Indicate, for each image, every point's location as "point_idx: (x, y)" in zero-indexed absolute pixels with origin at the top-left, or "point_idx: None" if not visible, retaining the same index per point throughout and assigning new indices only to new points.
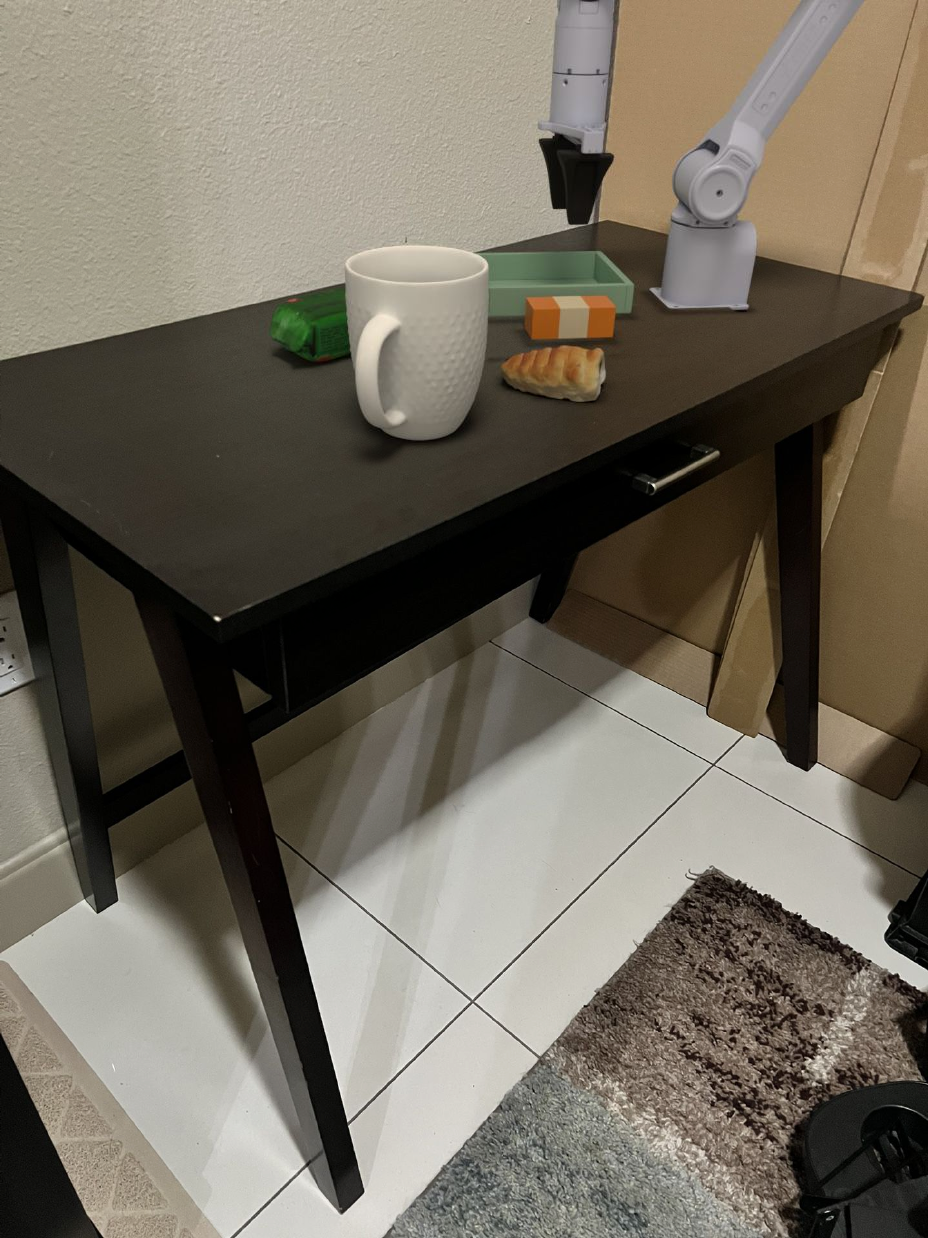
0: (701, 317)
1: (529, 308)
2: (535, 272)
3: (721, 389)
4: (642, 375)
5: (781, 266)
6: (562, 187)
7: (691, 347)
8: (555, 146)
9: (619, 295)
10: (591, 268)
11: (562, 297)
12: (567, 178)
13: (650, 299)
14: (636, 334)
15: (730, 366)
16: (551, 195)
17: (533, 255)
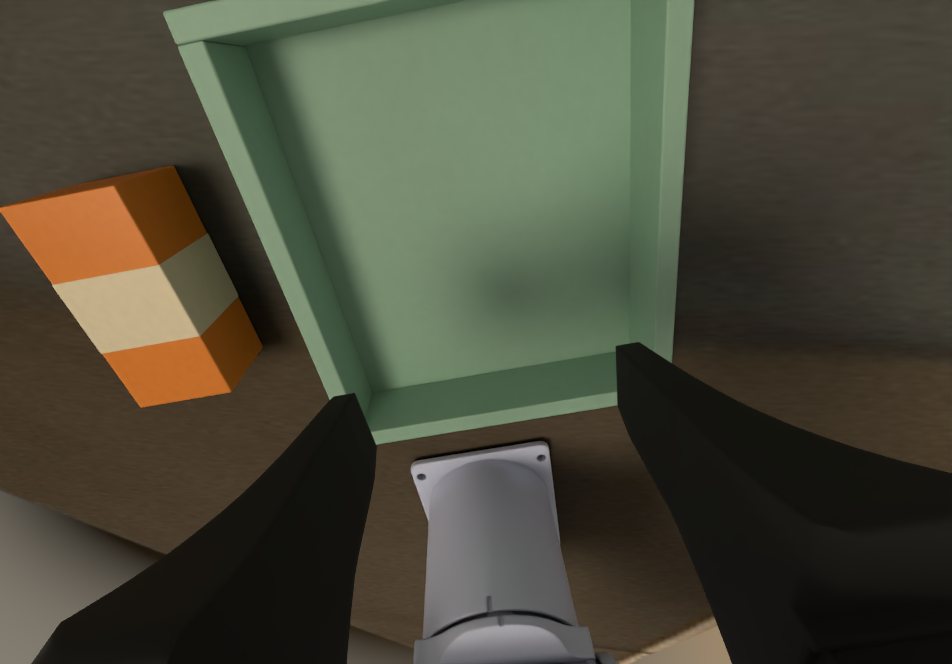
0: (398, 499)
1: (62, 193)
2: (635, 207)
3: (20, 493)
4: (12, 397)
5: (701, 608)
6: (652, 428)
7: (217, 474)
8: (781, 576)
9: None
10: None
11: (161, 292)
12: (185, 541)
13: (502, 437)
14: (259, 402)
15: (143, 512)
16: (638, 365)
17: (655, 212)
